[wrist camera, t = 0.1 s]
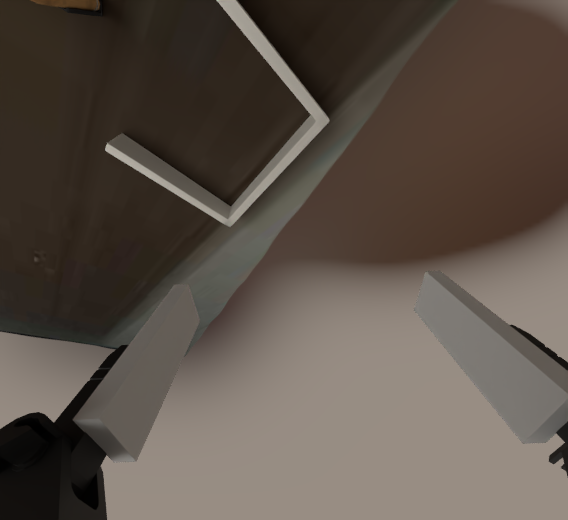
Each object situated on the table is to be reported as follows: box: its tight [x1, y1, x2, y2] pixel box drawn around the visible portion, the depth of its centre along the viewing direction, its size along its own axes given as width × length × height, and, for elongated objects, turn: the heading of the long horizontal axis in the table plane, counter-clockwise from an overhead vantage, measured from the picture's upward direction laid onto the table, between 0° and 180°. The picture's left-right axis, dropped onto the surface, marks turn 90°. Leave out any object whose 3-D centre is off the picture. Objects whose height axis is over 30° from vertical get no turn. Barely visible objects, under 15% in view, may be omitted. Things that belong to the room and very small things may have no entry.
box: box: [105, 0, 330, 227], centre depth 29 cm, size 22×19×4 cm
